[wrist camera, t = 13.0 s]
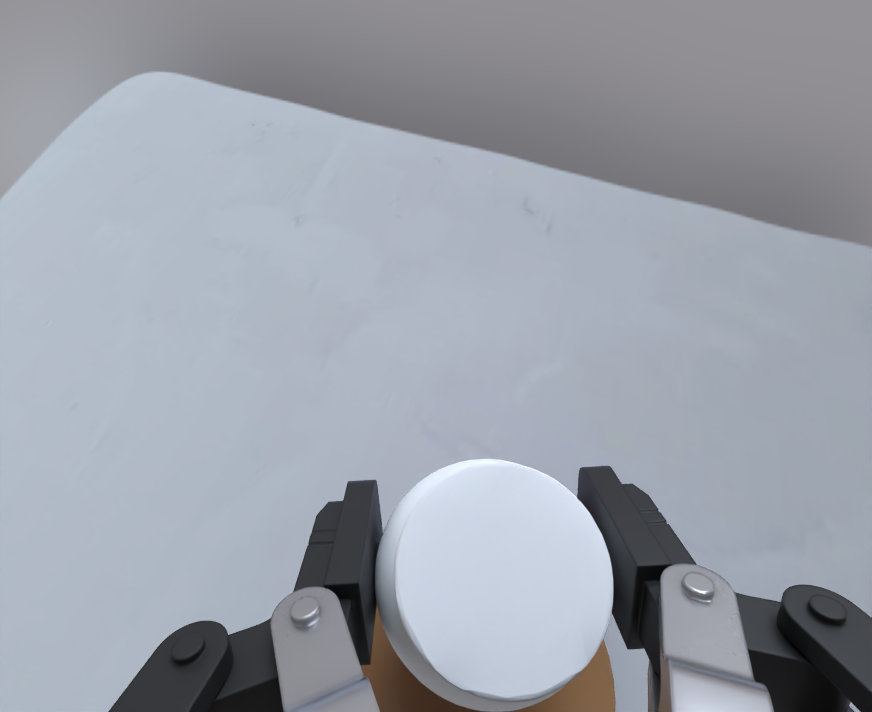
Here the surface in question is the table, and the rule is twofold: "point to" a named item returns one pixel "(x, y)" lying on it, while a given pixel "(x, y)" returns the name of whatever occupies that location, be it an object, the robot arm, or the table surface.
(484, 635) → the pill bottle
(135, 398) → the table surface
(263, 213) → the table surface
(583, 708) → the coaster
